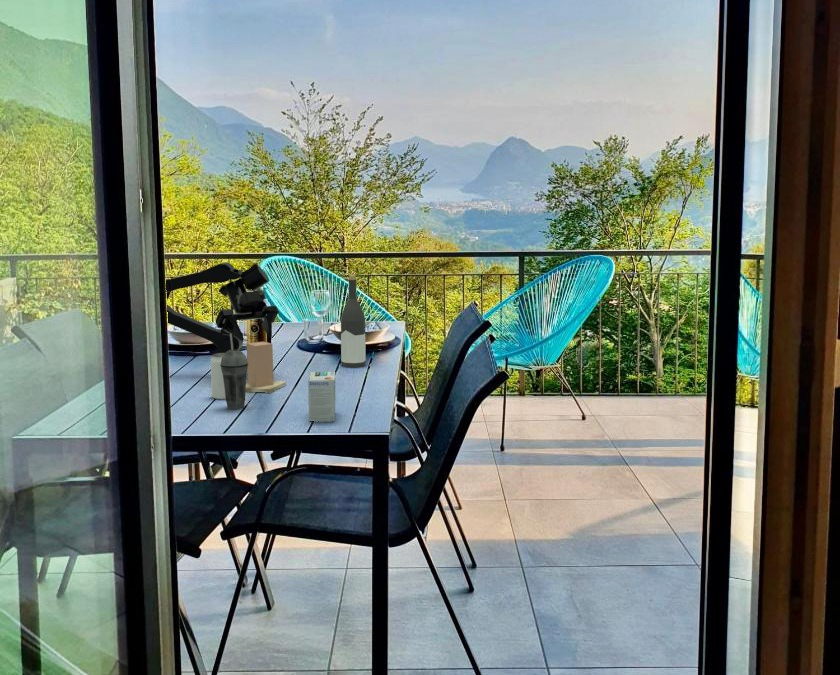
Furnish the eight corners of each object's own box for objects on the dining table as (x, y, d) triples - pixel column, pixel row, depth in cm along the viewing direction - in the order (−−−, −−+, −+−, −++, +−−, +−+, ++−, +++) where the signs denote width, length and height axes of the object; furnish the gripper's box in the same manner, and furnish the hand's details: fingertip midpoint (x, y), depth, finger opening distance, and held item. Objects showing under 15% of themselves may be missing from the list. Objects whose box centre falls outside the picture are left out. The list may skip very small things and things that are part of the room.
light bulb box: (310, 412, 227) (309, 371, 226) (336, 411, 228) (335, 371, 226) (308, 422, 217) (307, 380, 215) (335, 421, 217) (335, 379, 216)
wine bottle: (370, 364, 291) (369, 274, 286) (356, 368, 284) (354, 276, 279) (351, 362, 295) (350, 273, 290) (336, 366, 288) (334, 275, 283)
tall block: (247, 383, 256) (246, 343, 254) (264, 381, 259) (263, 341, 257) (256, 387, 251) (255, 346, 249) (273, 384, 255) (272, 344, 253)
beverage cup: (254, 405, 235) (252, 331, 231) (240, 411, 228) (238, 335, 225) (231, 403, 237) (228, 330, 234) (216, 409, 230) (213, 334, 227)
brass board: (234, 391, 252) (234, 387, 251) (252, 383, 262) (252, 379, 262) (269, 393, 249) (269, 389, 248) (286, 385, 259) (286, 381, 259)
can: (229, 400, 241) (228, 357, 239) (208, 399, 242) (206, 356, 240) (239, 395, 247) (237, 353, 245) (217, 394, 248) (216, 352, 246)
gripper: (217, 283, 256) (235, 324, 249) (275, 279, 267) (293, 319, 260) (207, 307, 263) (224, 348, 256) (263, 302, 275) (281, 341, 268)
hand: (257, 338), depth 260 cm, fingers open, 9 cm apart
